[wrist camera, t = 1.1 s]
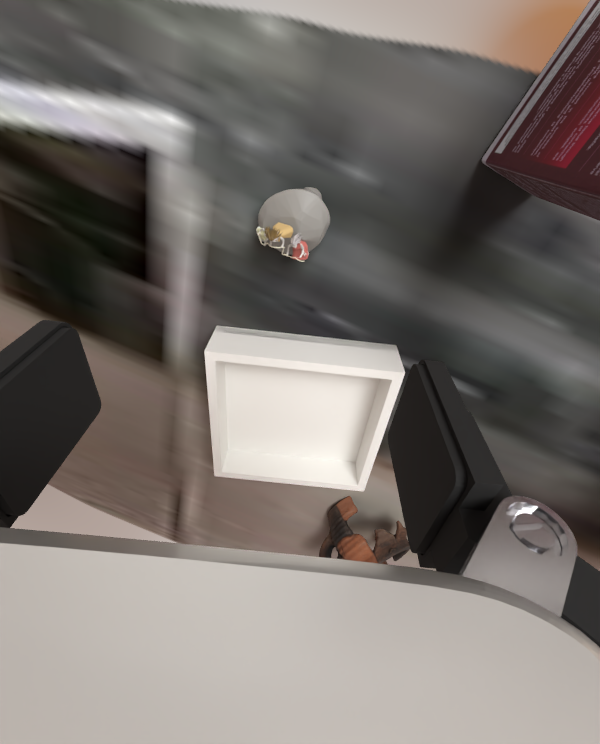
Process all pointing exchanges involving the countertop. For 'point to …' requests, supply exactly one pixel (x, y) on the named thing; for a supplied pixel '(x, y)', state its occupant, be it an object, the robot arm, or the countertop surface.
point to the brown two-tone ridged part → (361, 538)
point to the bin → (298, 406)
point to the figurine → (293, 222)
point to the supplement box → (559, 125)
